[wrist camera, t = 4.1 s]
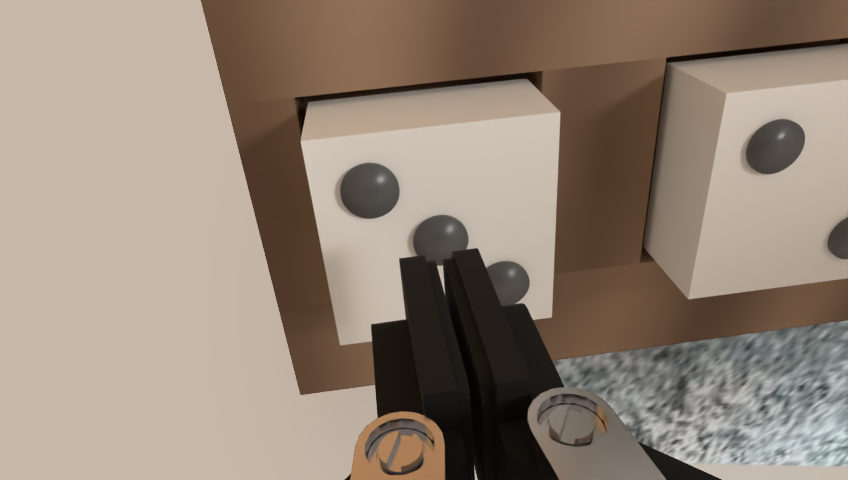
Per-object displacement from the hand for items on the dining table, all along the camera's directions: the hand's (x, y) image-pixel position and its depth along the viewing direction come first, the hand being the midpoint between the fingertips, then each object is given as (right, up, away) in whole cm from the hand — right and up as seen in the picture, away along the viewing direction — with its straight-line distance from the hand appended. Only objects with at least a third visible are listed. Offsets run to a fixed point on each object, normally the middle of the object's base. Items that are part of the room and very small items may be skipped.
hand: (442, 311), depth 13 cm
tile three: (0, +3, +5) cm, 6 cm away
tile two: (+10, +4, +6) cm, 12 cm away
